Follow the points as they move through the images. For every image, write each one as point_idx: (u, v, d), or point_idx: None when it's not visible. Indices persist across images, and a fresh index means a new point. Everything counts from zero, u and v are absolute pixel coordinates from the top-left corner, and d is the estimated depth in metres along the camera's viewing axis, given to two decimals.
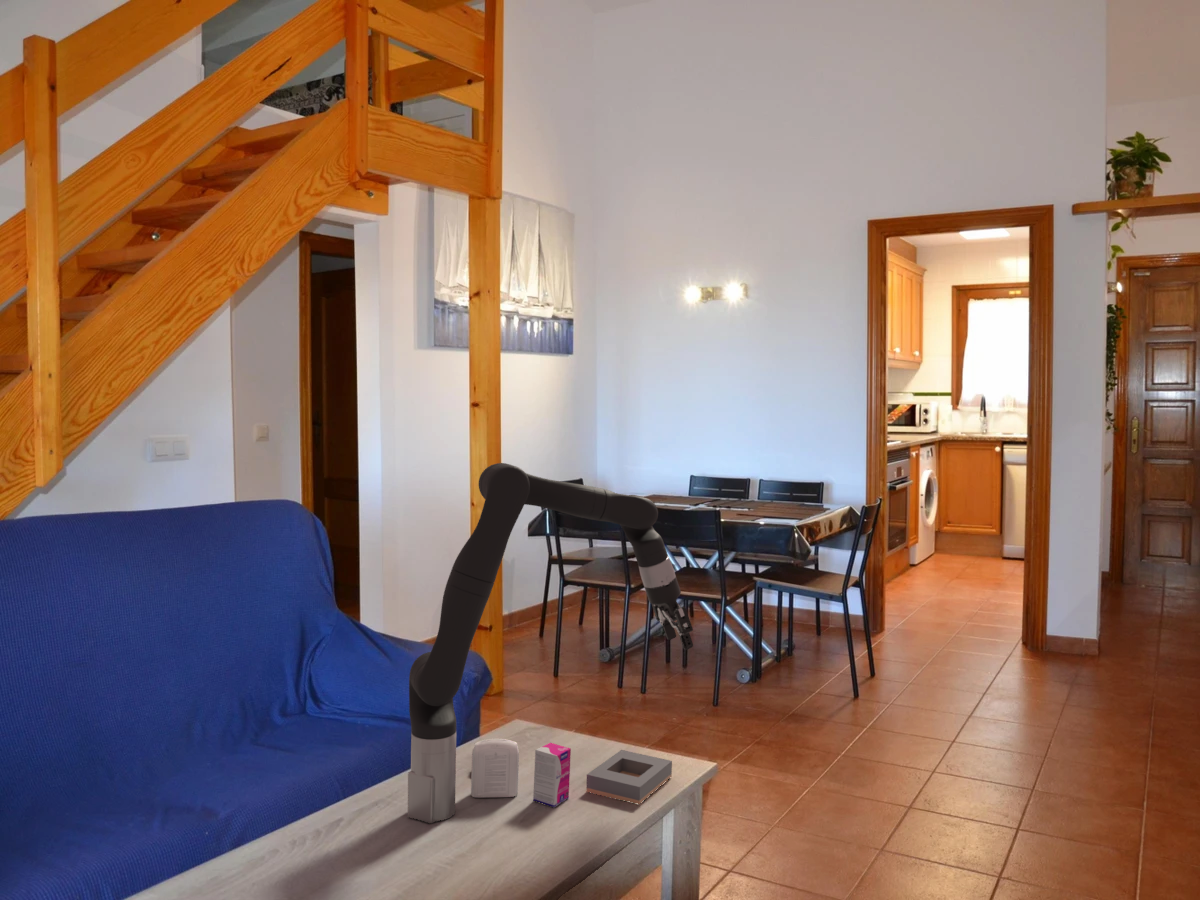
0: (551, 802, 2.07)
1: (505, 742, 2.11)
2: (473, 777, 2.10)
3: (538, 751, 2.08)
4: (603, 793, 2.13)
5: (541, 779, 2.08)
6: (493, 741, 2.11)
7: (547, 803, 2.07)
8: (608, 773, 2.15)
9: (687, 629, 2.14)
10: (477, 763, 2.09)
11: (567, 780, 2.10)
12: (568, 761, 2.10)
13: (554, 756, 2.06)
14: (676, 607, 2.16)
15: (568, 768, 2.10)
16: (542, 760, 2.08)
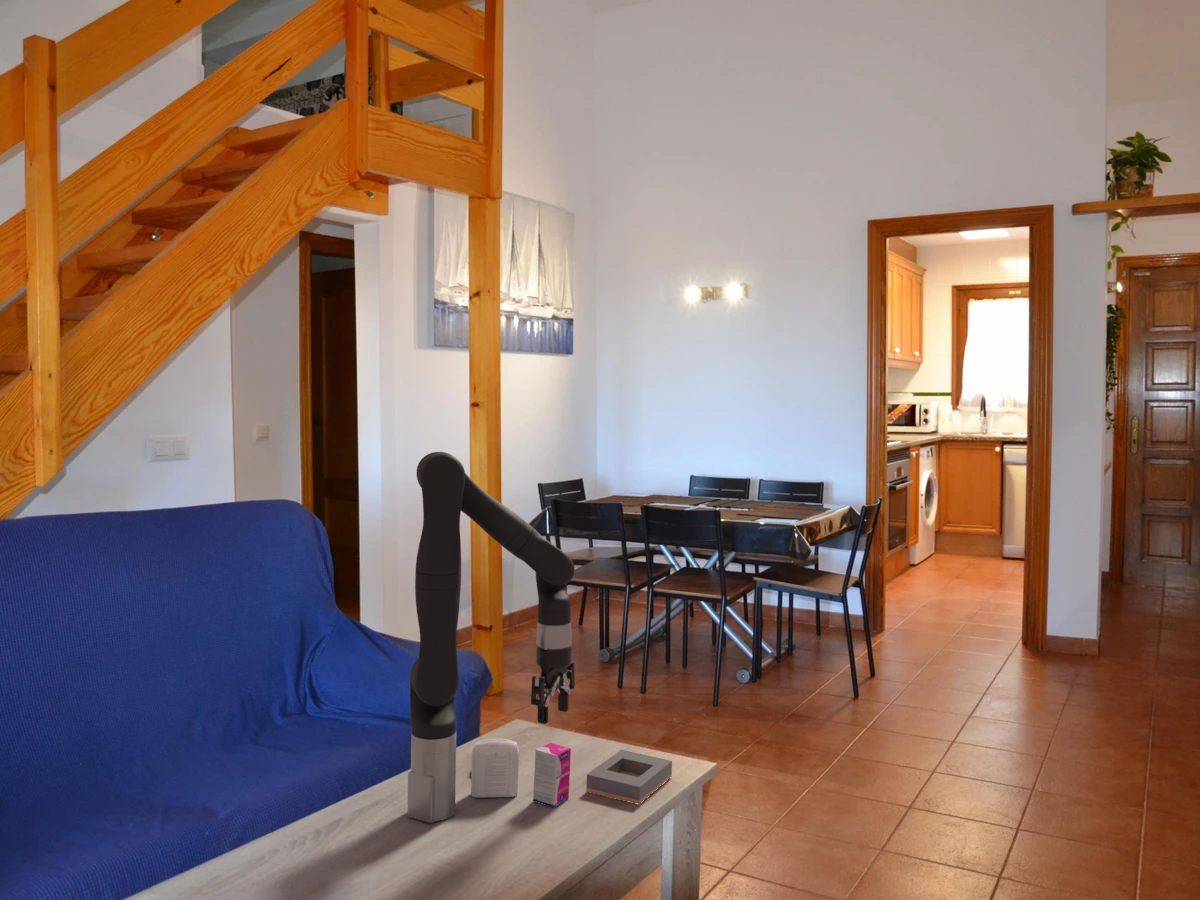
0: (551, 802, 2.07)
1: (505, 742, 2.11)
2: (473, 777, 2.10)
3: (538, 751, 2.08)
4: (603, 793, 2.13)
5: (541, 779, 2.08)
6: (493, 741, 2.11)
7: (547, 803, 2.07)
8: (608, 773, 2.15)
9: (536, 701, 2.03)
10: (477, 763, 2.09)
11: (567, 780, 2.10)
12: (568, 761, 2.10)
13: (555, 756, 2.06)
14: (543, 676, 2.04)
15: (568, 768, 2.10)
16: (542, 760, 2.08)
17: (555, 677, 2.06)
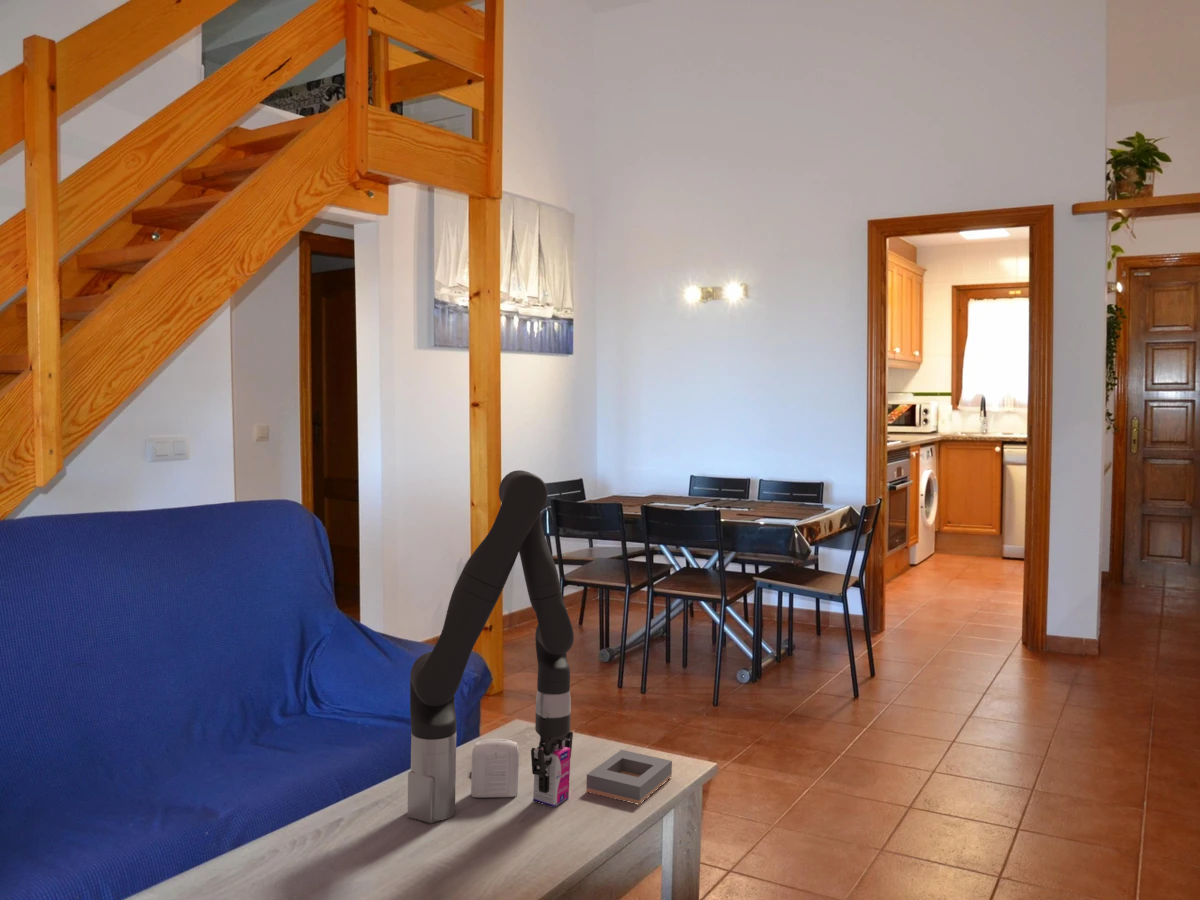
0: (551, 802, 2.07)
1: (505, 742, 2.11)
2: (473, 777, 2.10)
3: None
4: (603, 793, 2.13)
5: None
6: (493, 741, 2.11)
7: (547, 803, 2.07)
8: (608, 773, 2.15)
9: (537, 772, 2.04)
10: (477, 763, 2.09)
11: (567, 780, 2.10)
12: (568, 761, 2.10)
13: (554, 756, 2.06)
14: (541, 746, 2.05)
15: (568, 768, 2.10)
16: None
17: (554, 745, 2.07)
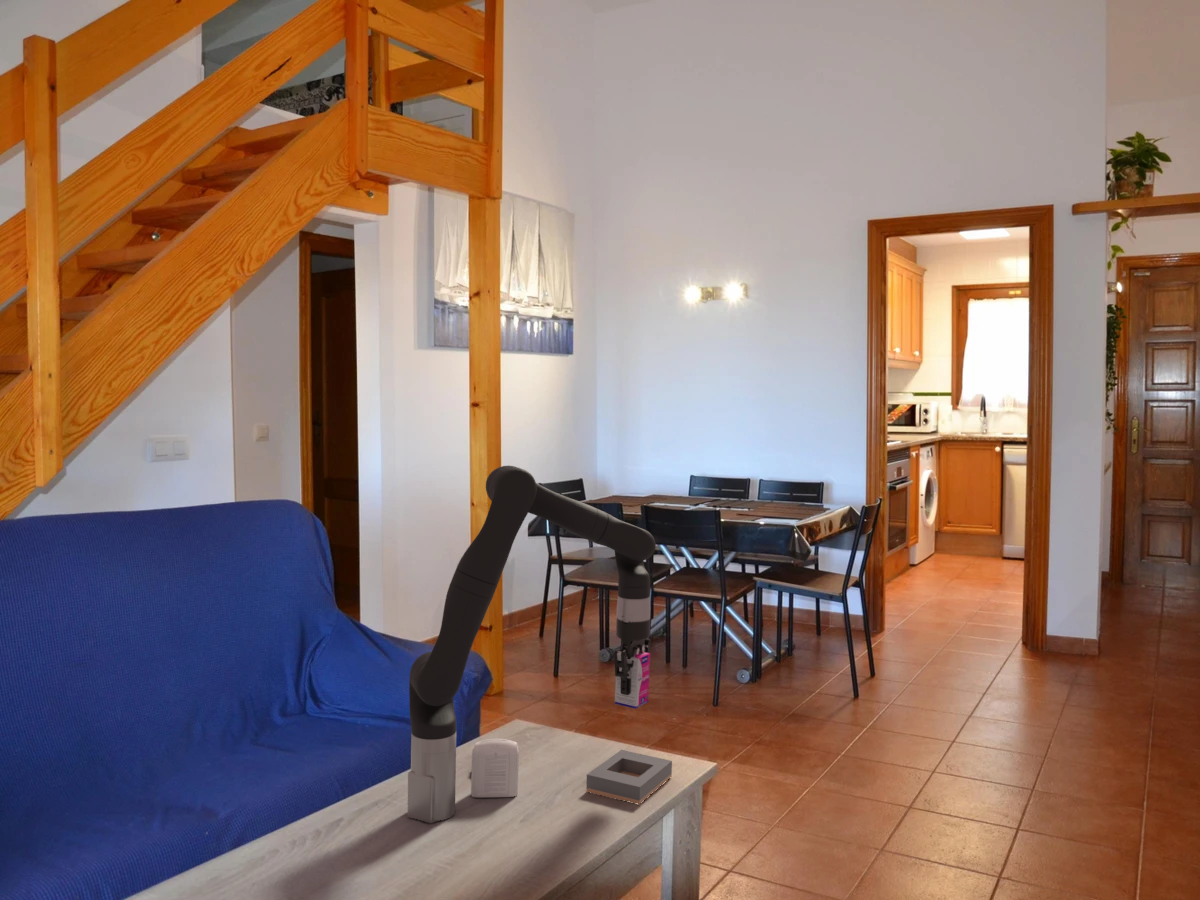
0: (633, 703, 2.14)
1: (505, 742, 2.11)
2: (473, 777, 2.10)
3: None
4: (603, 793, 2.13)
5: None
6: (493, 741, 2.11)
7: (629, 705, 2.15)
8: (608, 773, 2.15)
9: (620, 673, 2.12)
10: (477, 763, 2.09)
11: (647, 684, 2.18)
12: (648, 665, 2.17)
13: (636, 659, 2.14)
14: (624, 649, 2.13)
15: (648, 672, 2.18)
16: None
17: (635, 649, 2.15)
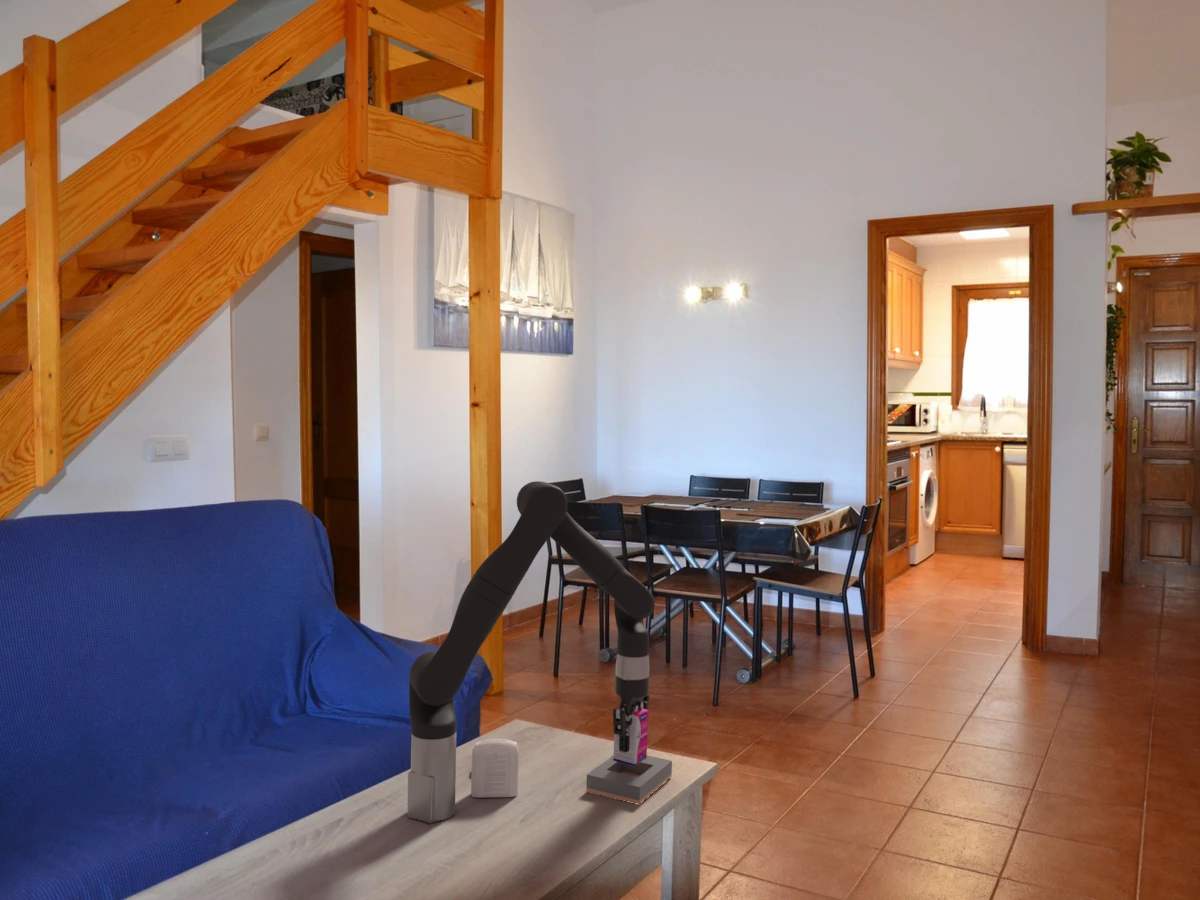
0: (631, 761, 2.15)
1: (505, 742, 2.11)
2: (473, 777, 2.10)
3: None
4: (603, 793, 2.13)
5: None
6: (493, 741, 2.11)
7: (627, 762, 2.16)
8: (608, 773, 2.15)
9: (619, 731, 2.13)
10: (477, 763, 2.09)
11: (645, 740, 2.19)
12: (646, 722, 2.18)
13: (635, 717, 2.14)
14: (622, 707, 2.14)
15: (646, 729, 2.19)
16: None
17: (634, 707, 2.16)
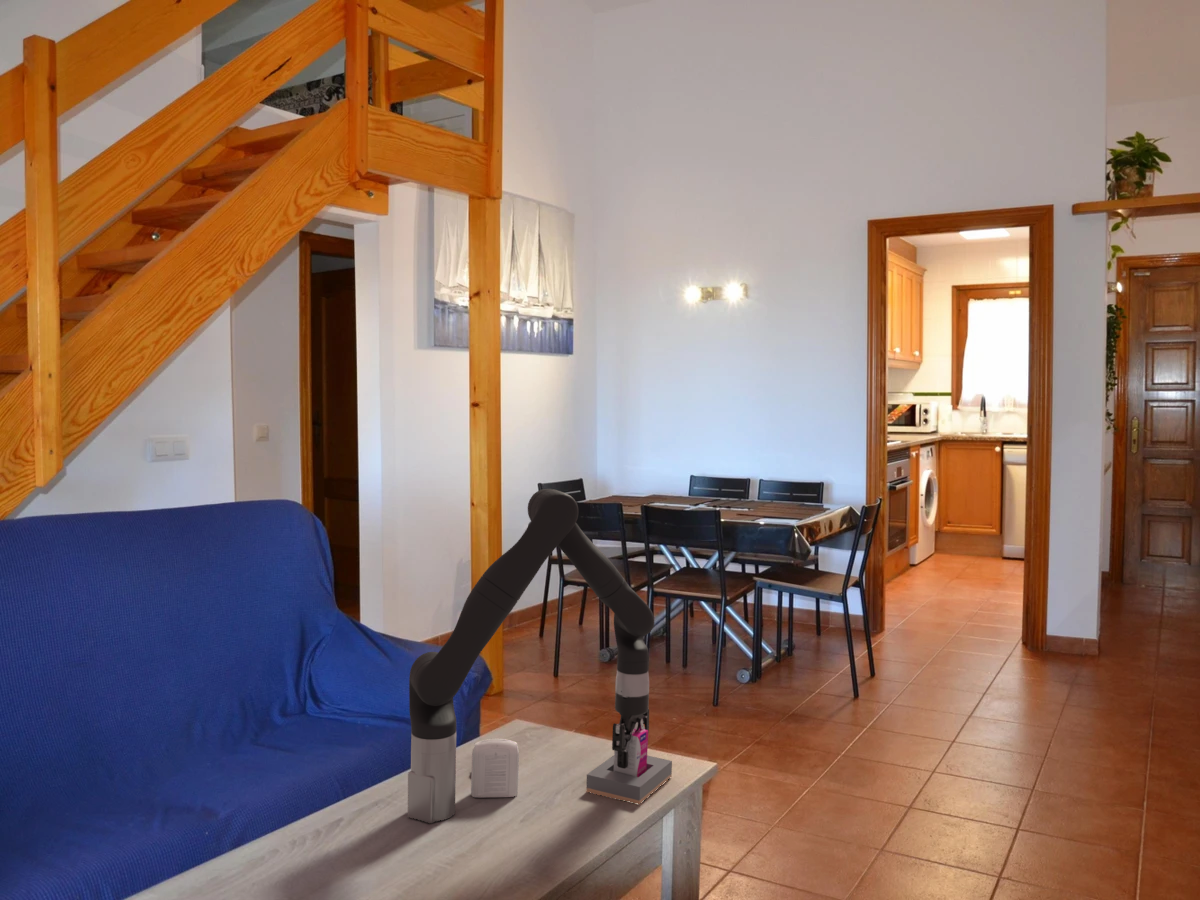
0: None
1: (505, 742, 2.11)
2: (473, 777, 2.10)
3: None
4: (603, 793, 2.13)
5: None
6: (493, 741, 2.11)
7: None
8: (608, 773, 2.15)
9: (617, 747, 2.13)
10: (477, 763, 2.09)
11: (645, 761, 2.19)
12: (646, 742, 2.19)
13: (635, 738, 2.15)
14: (622, 722, 2.14)
15: (646, 749, 2.19)
16: None
17: (633, 723, 2.16)
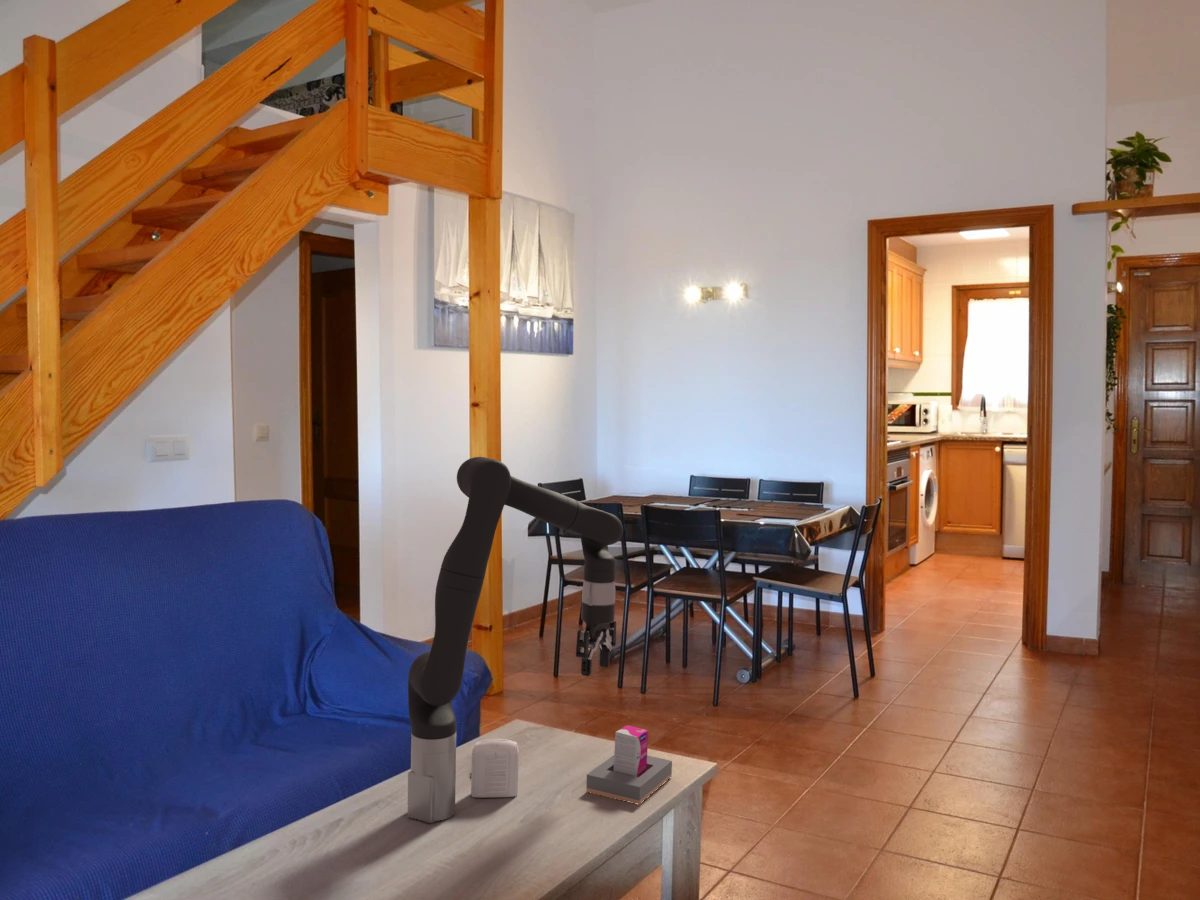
0: None
1: (505, 742, 2.11)
2: (473, 777, 2.10)
3: (618, 733, 2.17)
4: (603, 793, 2.13)
5: (621, 760, 2.17)
6: (493, 741, 2.11)
7: None
8: (608, 773, 2.15)
9: (581, 654, 2.14)
10: (477, 763, 2.09)
11: (645, 761, 2.19)
12: (646, 742, 2.19)
13: (635, 738, 2.15)
14: (587, 630, 2.16)
15: (646, 749, 2.19)
16: (623, 742, 2.17)
17: (599, 632, 2.18)
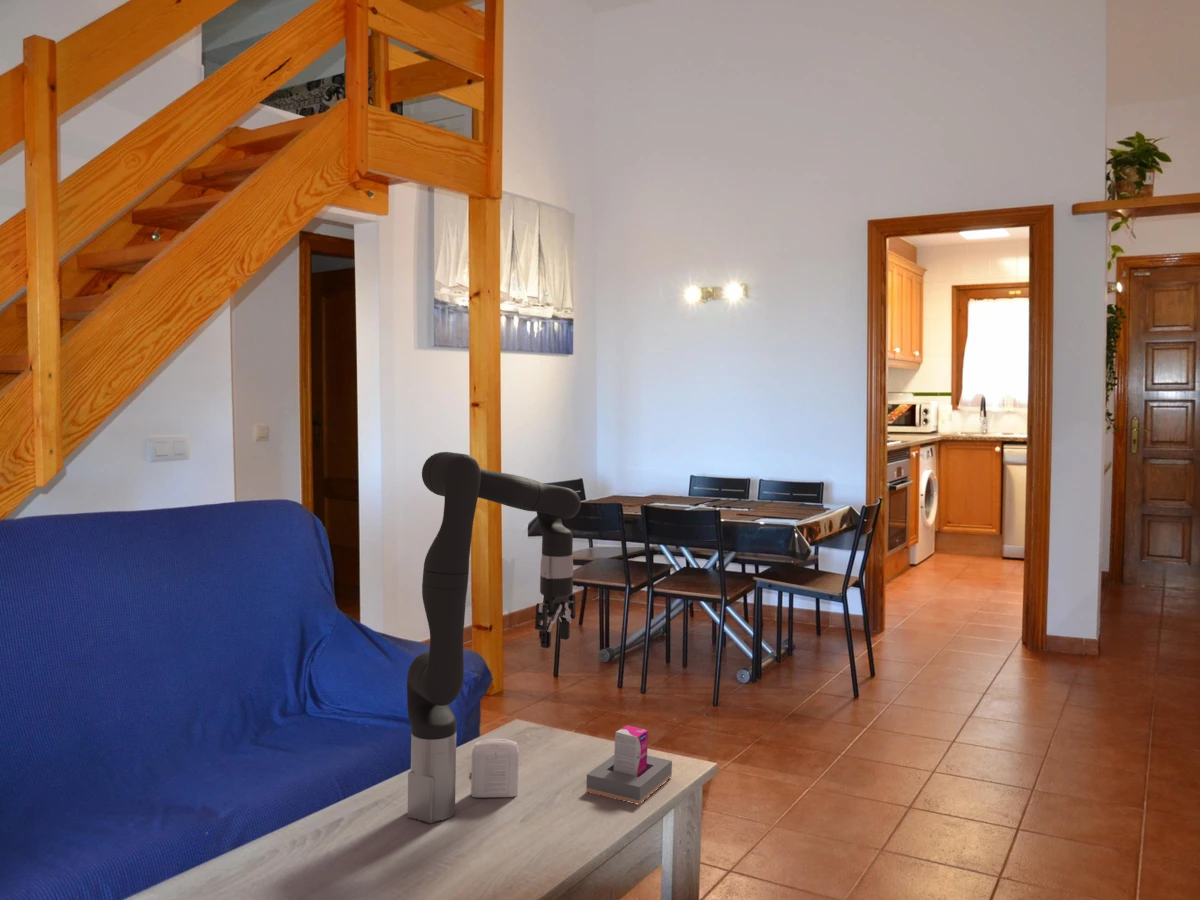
0: None
1: (505, 742, 2.11)
2: (473, 777, 2.10)
3: (618, 733, 2.17)
4: (603, 793, 2.13)
5: (621, 760, 2.17)
6: (493, 741, 2.11)
7: None
8: (608, 773, 2.15)
9: (540, 626, 2.18)
10: (477, 763, 2.09)
11: (645, 761, 2.19)
12: (646, 742, 2.19)
13: (635, 738, 2.15)
14: (546, 603, 2.20)
15: (646, 749, 2.19)
16: (623, 742, 2.17)
17: (557, 605, 2.21)
